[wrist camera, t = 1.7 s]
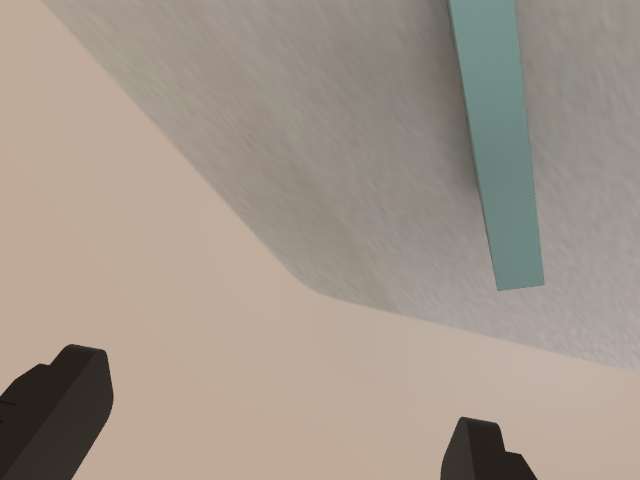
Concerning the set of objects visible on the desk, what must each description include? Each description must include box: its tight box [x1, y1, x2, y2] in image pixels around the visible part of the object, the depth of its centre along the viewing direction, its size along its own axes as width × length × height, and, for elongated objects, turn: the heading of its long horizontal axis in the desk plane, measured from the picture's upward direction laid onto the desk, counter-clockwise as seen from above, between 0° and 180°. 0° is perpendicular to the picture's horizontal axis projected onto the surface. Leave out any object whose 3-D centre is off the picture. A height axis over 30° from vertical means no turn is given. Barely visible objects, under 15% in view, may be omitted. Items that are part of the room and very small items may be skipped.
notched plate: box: [446, 0, 544, 291], centre depth 23 cm, size 2×14×10 cm, turn 18°
